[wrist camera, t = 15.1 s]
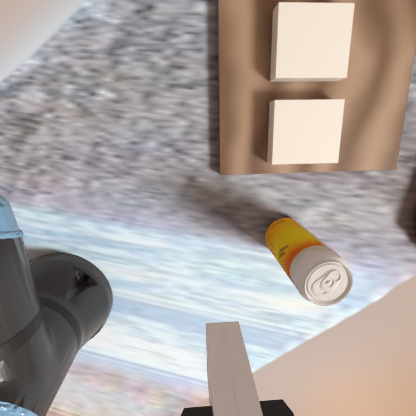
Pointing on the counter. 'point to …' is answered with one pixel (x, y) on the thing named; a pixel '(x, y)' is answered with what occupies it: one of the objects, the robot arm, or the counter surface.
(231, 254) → the counter surface
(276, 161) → the tile
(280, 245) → the beer can
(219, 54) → the board
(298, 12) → the tile
